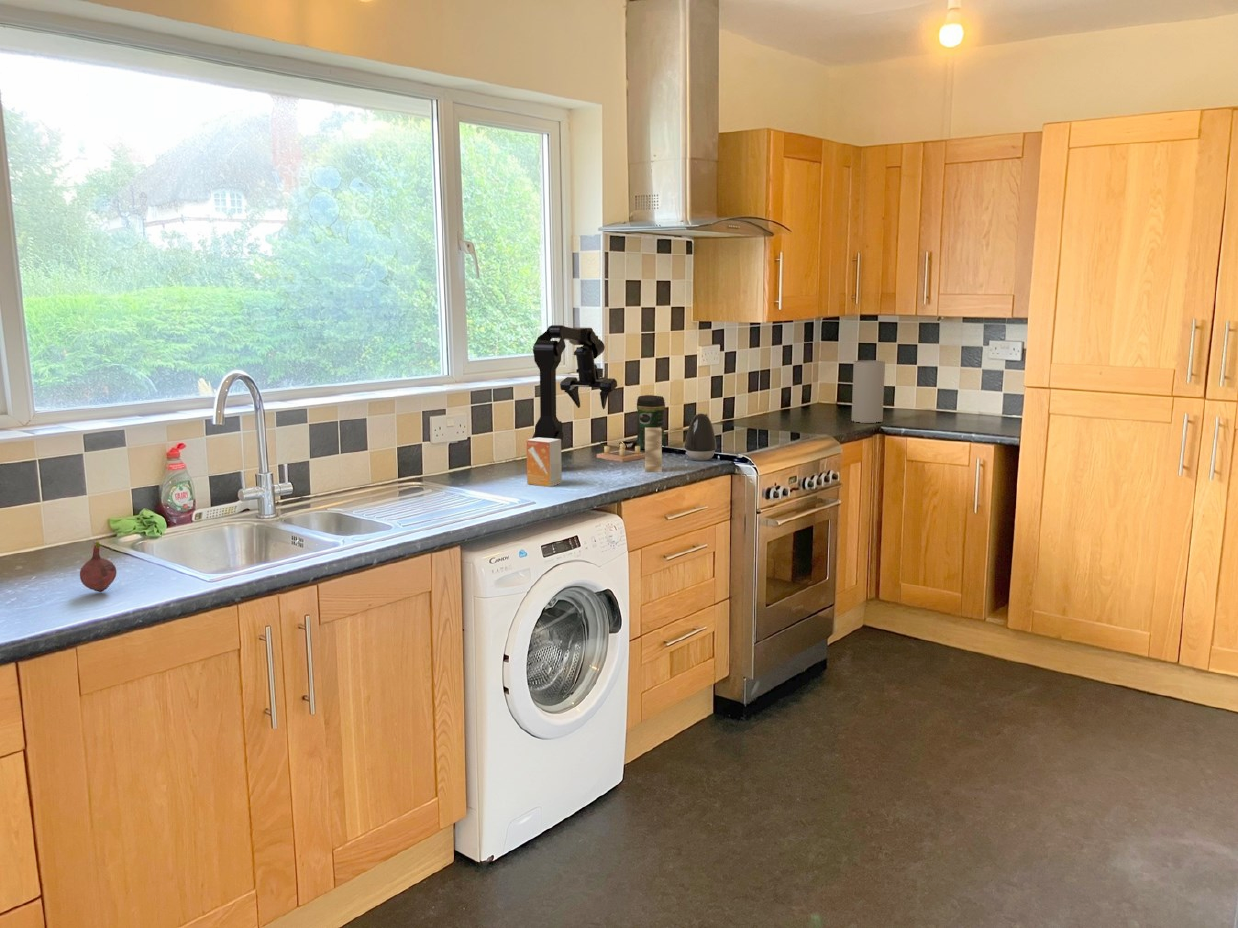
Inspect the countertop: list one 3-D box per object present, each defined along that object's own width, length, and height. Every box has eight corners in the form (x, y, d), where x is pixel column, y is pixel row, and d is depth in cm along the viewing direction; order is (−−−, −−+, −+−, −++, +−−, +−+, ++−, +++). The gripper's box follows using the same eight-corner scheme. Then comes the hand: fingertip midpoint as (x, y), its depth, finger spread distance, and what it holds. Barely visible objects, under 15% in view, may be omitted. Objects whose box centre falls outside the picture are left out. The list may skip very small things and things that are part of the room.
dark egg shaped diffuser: (720, 457, 320) (721, 412, 318) (710, 463, 311) (710, 416, 308) (691, 455, 324) (692, 410, 322) (680, 460, 315) (680, 414, 312)
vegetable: (103, 599, 178) (97, 546, 176) (73, 597, 179) (67, 545, 177) (125, 589, 184) (120, 538, 182) (96, 587, 185) (91, 536, 183)
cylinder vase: (856, 419, 411) (858, 359, 407) (885, 420, 405) (888, 360, 401) (847, 422, 401) (849, 361, 396) (877, 424, 395) (880, 363, 390)
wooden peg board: (622, 461, 314) (622, 450, 313) (596, 457, 322) (596, 446, 322) (647, 457, 322) (647, 446, 321) (622, 453, 331) (622, 442, 330)
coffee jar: (668, 447, 341) (668, 395, 338) (656, 450, 335) (656, 397, 331) (645, 445, 347) (645, 393, 343) (633, 448, 340) (633, 395, 337)
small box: (526, 484, 279) (525, 439, 277) (539, 480, 284) (538, 436, 282) (550, 487, 275) (549, 441, 273) (562, 483, 280) (561, 438, 278)
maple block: (645, 472, 297) (645, 429, 294) (644, 469, 302) (644, 427, 299) (661, 472, 297) (661, 429, 294) (661, 468, 302) (661, 427, 299)
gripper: (620, 356, 324) (625, 400, 331) (570, 355, 331) (576, 398, 338) (608, 368, 315) (613, 412, 321) (556, 366, 322) (562, 410, 329)
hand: (591, 408), depth 328 cm, fingers open, 9 cm apart
